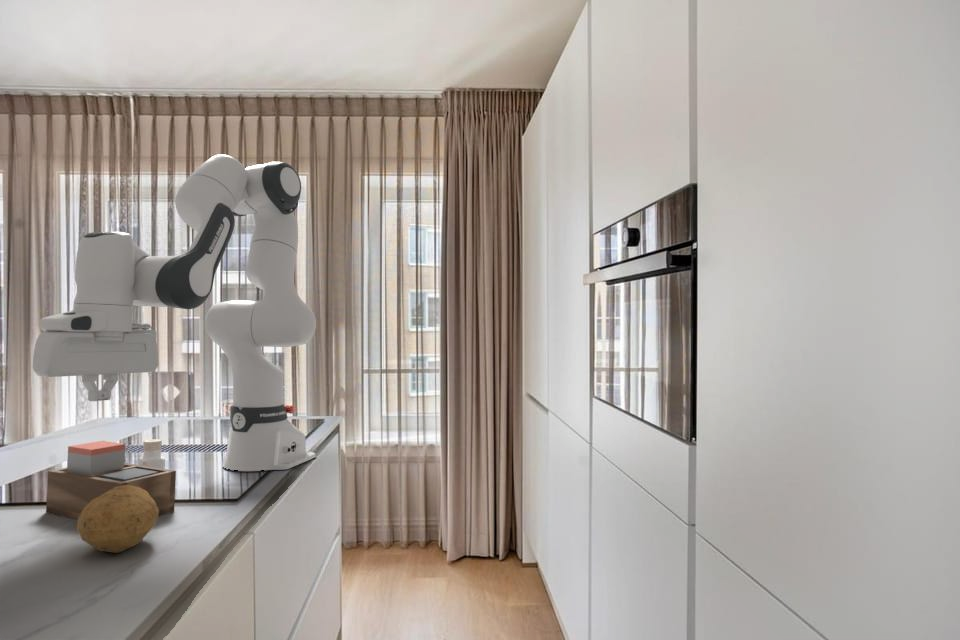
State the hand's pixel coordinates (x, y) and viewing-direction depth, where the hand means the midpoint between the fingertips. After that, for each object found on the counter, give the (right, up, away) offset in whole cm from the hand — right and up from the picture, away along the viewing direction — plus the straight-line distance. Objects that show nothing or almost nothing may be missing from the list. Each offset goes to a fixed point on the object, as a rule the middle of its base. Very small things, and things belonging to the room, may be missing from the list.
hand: (99, 400), depth 100 cm
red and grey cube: (0, -14, 0) cm, 14 cm away
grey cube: (+7, -18, -4) cm, 20 cm away
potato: (+15, -19, -18) cm, 30 cm away
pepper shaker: (+2, -20, +13) cm, 23 cm away
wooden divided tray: (+3, -19, -2) cm, 19 cm away
